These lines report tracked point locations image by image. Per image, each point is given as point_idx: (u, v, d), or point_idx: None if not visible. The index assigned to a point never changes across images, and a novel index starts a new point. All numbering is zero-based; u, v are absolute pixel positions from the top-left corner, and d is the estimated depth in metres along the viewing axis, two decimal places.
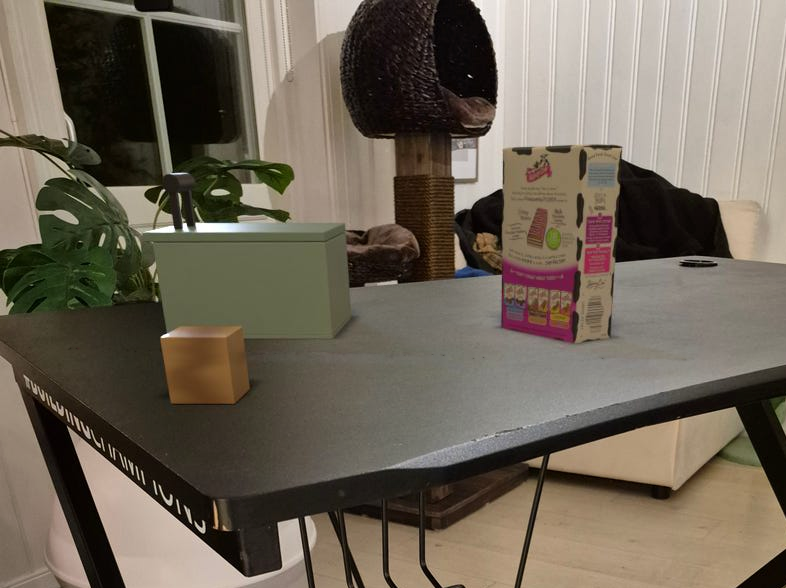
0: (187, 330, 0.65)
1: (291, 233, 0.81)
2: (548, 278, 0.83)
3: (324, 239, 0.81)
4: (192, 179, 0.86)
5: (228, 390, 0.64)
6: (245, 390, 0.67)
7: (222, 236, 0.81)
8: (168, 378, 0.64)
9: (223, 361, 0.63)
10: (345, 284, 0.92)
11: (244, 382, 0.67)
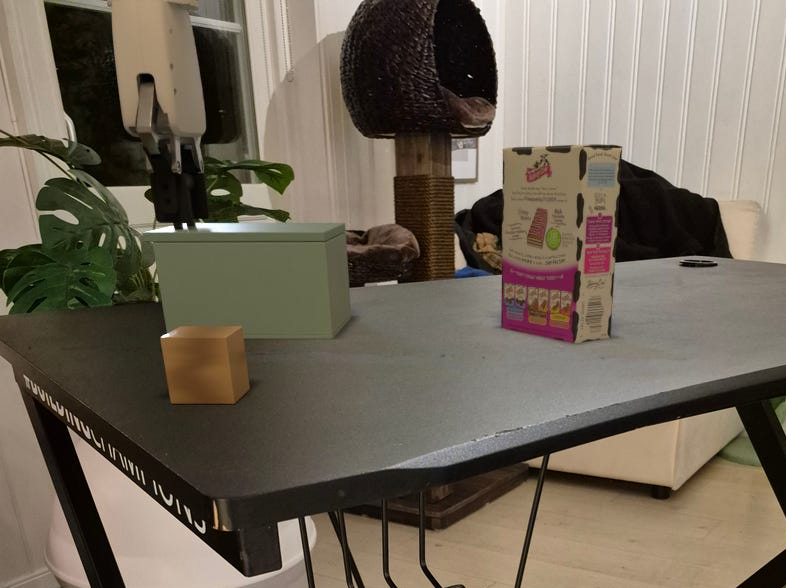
0: (187, 330, 0.65)
1: (291, 233, 0.81)
2: (548, 278, 0.83)
3: (324, 239, 0.81)
4: (192, 179, 0.86)
5: (228, 390, 0.64)
6: (245, 390, 0.67)
7: (222, 236, 0.81)
8: (168, 378, 0.64)
9: (223, 361, 0.63)
10: (345, 284, 0.92)
11: (244, 382, 0.67)
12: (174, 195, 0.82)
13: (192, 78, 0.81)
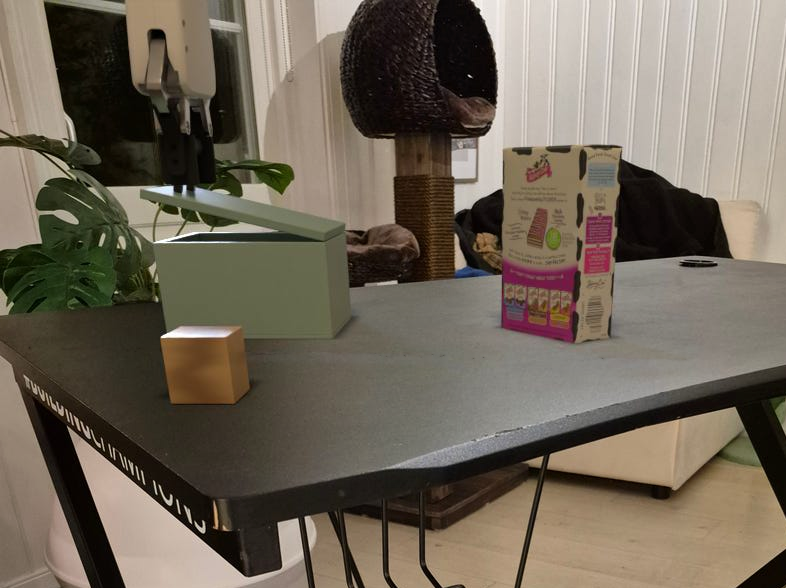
0: (187, 330, 0.65)
1: (292, 225, 0.80)
2: (548, 278, 0.83)
3: (323, 239, 0.81)
4: (201, 145, 0.85)
5: (228, 390, 0.64)
6: (245, 390, 0.67)
7: (221, 211, 0.80)
8: (168, 378, 0.64)
9: (223, 361, 0.63)
10: (345, 284, 0.92)
11: (244, 382, 0.67)
12: (182, 156, 0.80)
13: (204, 37, 0.79)
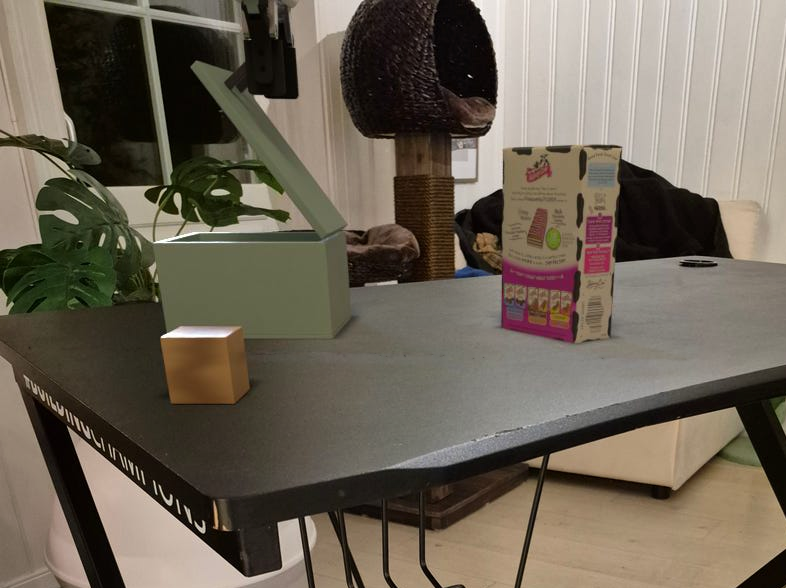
0: (187, 330, 0.65)
1: (304, 205, 0.80)
2: (548, 278, 0.83)
3: (322, 237, 0.81)
4: None
5: (228, 390, 0.64)
6: (245, 390, 0.67)
7: (254, 142, 0.77)
8: (168, 378, 0.64)
9: (223, 361, 0.63)
10: (345, 284, 0.92)
11: (244, 382, 0.67)
12: (270, 62, 0.77)
13: None
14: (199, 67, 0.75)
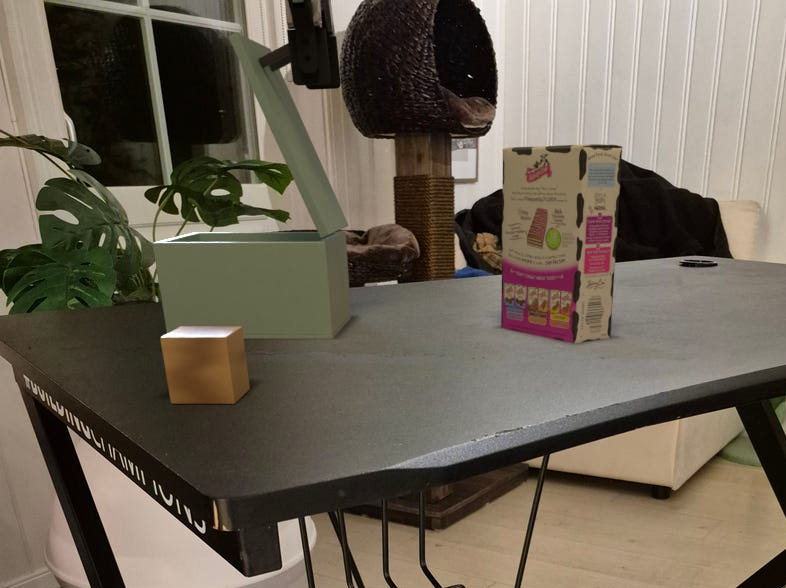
0: (187, 330, 0.65)
1: (312, 201, 0.79)
2: (548, 278, 0.83)
3: (322, 237, 0.81)
4: None
5: (228, 390, 0.64)
6: (245, 390, 0.67)
7: (275, 127, 0.77)
8: (168, 378, 0.64)
9: (223, 361, 0.63)
10: (345, 284, 0.92)
11: (244, 382, 0.67)
12: (314, 51, 0.76)
13: None
14: (237, 40, 0.74)
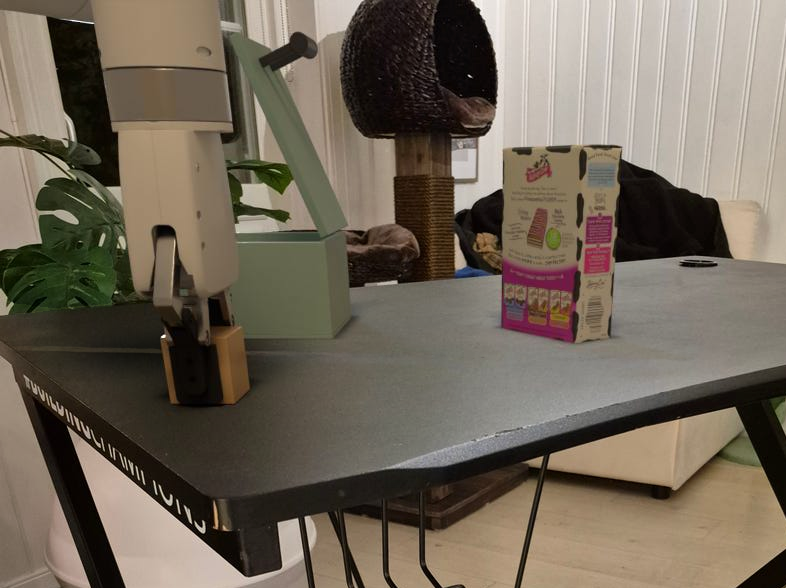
0: None
1: (312, 201, 0.79)
2: (548, 278, 0.83)
3: (322, 237, 0.81)
4: (314, 55, 0.81)
5: (228, 390, 0.64)
6: (245, 390, 0.67)
7: (275, 127, 0.77)
8: (168, 378, 0.64)
9: (223, 361, 0.63)
10: (345, 284, 0.92)
11: (244, 382, 0.67)
12: (201, 372, 0.62)
13: (224, 220, 0.61)
14: (238, 39, 0.74)
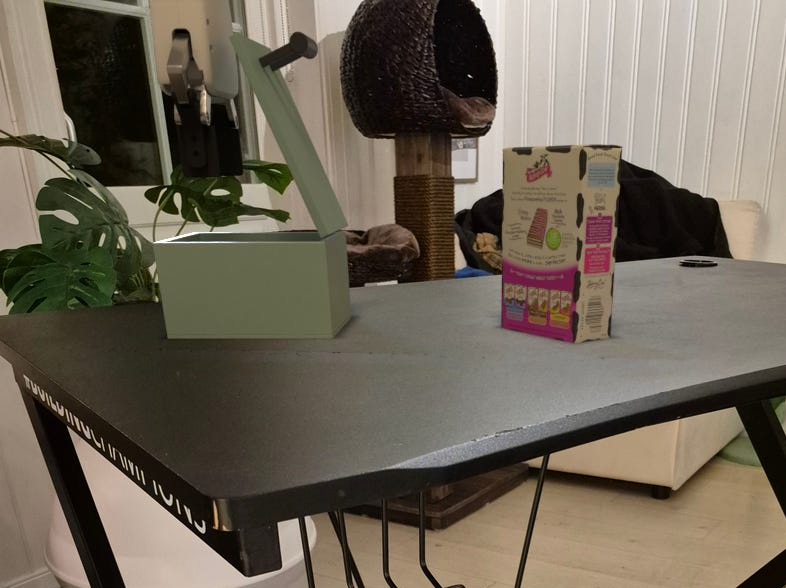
0: None
1: (312, 201, 0.79)
2: (548, 278, 0.83)
3: (322, 237, 0.81)
4: (314, 55, 0.81)
5: None
6: None
7: (275, 127, 0.77)
8: None
9: None
10: (345, 284, 0.92)
11: None
12: (202, 148, 0.79)
13: (227, 36, 0.79)
14: (238, 39, 0.74)
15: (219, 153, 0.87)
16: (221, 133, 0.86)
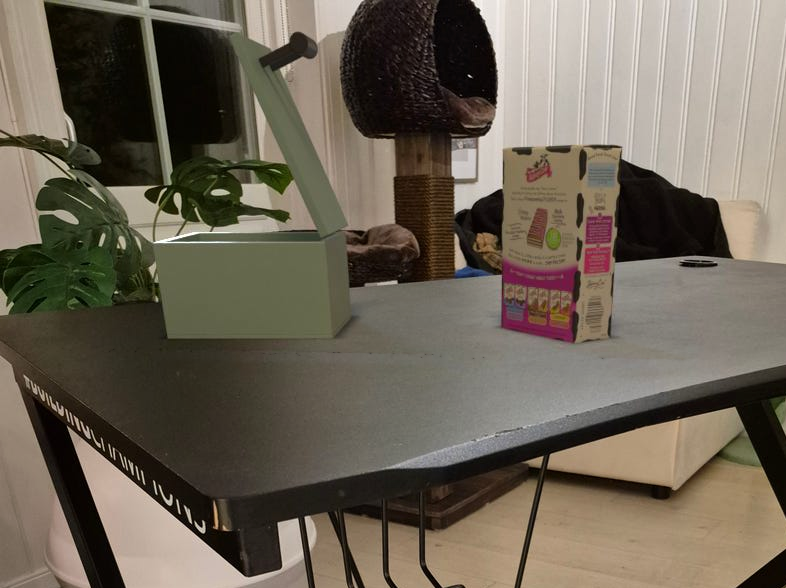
0: None
1: (312, 201, 0.79)
2: (548, 278, 0.83)
3: (322, 237, 0.81)
4: (314, 55, 0.81)
5: None
6: None
7: (275, 127, 0.77)
8: None
9: None
10: (345, 284, 0.92)
11: None
12: None
13: None
14: (238, 39, 0.74)
15: None
16: None
